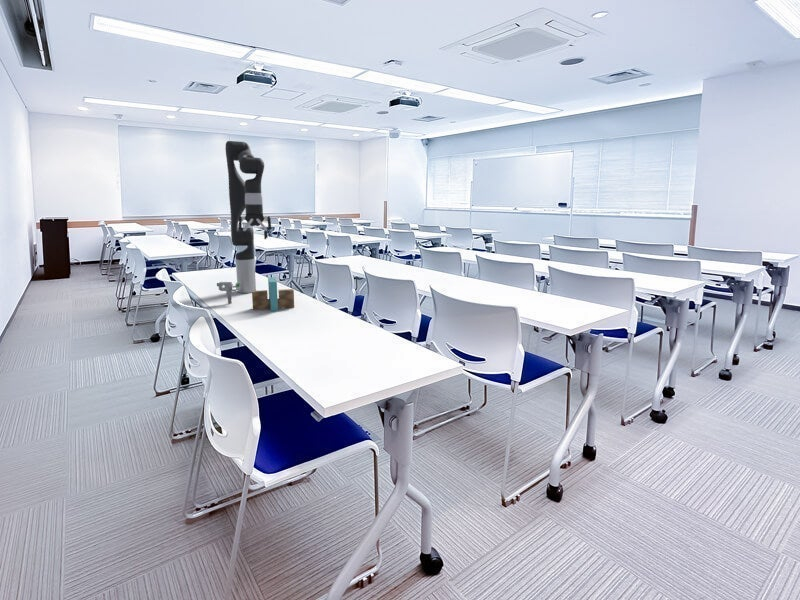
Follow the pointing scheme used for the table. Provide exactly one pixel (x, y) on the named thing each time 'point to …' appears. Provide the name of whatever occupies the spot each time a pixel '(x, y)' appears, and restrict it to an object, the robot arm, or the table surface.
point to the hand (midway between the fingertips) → (255, 239)
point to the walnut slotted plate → (263, 302)
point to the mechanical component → (228, 288)
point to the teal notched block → (273, 293)
